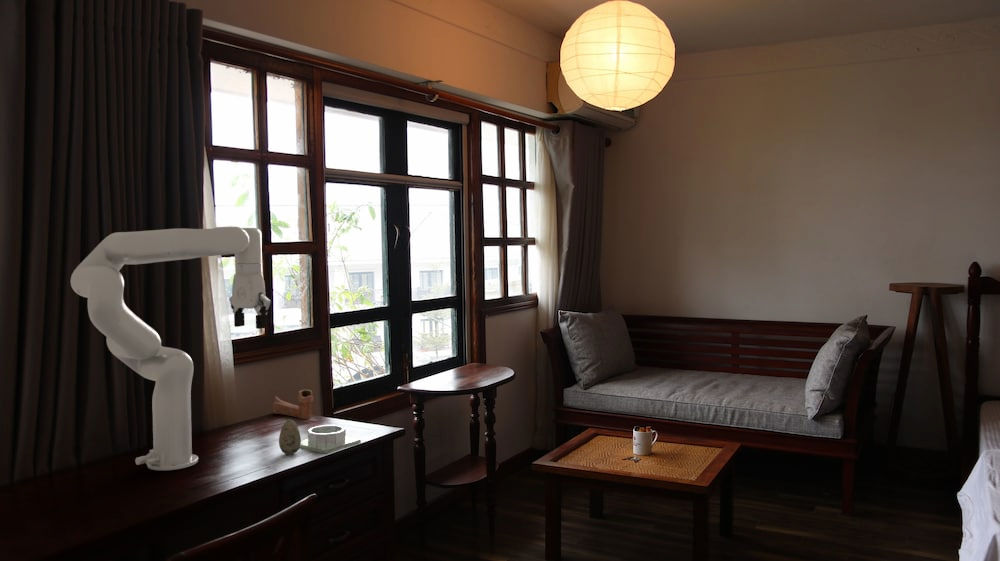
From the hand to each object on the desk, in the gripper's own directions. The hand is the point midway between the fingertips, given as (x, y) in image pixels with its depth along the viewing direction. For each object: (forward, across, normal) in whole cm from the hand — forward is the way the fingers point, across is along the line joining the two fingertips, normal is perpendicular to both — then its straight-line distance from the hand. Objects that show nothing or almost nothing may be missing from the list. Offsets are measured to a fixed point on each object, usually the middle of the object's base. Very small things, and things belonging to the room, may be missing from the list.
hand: (250, 327), depth 212 cm
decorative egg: (+36, +17, -1) cm, 40 cm away
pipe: (+36, -17, +30) cm, 50 cm away
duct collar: (+35, +19, +12) cm, 42 cm away
